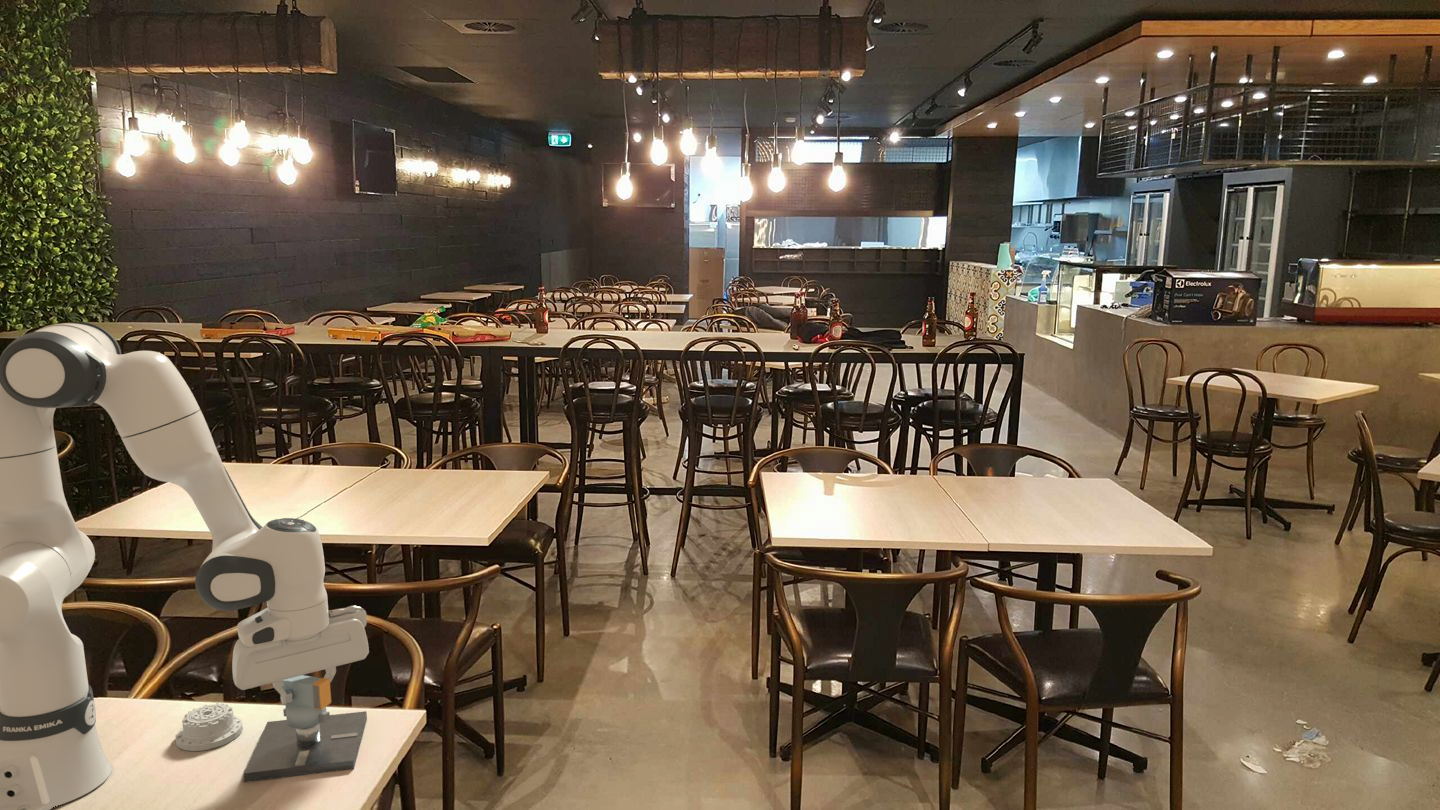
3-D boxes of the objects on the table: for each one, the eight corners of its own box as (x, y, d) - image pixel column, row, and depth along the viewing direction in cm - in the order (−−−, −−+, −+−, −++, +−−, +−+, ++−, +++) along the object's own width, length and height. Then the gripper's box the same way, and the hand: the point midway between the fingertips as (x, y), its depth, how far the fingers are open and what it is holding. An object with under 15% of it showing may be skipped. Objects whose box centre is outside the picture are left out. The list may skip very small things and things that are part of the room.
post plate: (244, 782, 145) (241, 752, 144) (268, 729, 160) (265, 702, 159) (353, 769, 148) (351, 740, 147) (366, 719, 164) (365, 692, 163)
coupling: (273, 724, 151) (270, 684, 150) (299, 707, 157) (296, 667, 156) (315, 731, 149) (311, 690, 148) (339, 713, 155) (336, 673, 154)
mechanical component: (161, 749, 154) (214, 756, 152) (159, 724, 153) (212, 731, 152) (205, 719, 164) (255, 725, 162) (203, 696, 163) (253, 701, 161)
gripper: (360, 597, 158) (365, 672, 161) (226, 626, 147) (234, 707, 149) (371, 608, 153) (376, 686, 156) (232, 640, 142) (241, 724, 144)
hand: (305, 697), depth 152 cm, fingers closed on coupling, 4 cm apart
